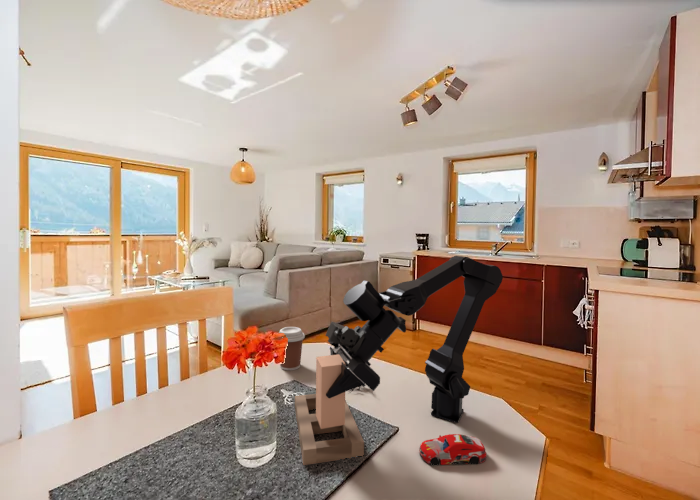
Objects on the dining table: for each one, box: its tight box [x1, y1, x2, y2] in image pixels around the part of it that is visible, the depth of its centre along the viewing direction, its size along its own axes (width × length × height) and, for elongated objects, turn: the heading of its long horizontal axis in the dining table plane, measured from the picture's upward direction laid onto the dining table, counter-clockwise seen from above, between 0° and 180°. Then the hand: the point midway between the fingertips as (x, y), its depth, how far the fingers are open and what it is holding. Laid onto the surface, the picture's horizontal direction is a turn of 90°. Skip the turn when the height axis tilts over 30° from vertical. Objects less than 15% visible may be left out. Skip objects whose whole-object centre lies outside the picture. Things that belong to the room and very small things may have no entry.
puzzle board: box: [294, 393, 365, 466], centre depth 76 cm, size 21×12×3 cm, turn 14°
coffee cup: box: [278, 326, 306, 371], centre depth 109 cm, size 9×9×12 cm
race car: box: [418, 433, 487, 467], centre depth 67 cm, size 13×5×4 cm, turn 93°
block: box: [315, 354, 346, 429], centre depth 70 cm, size 5×5×13 cm
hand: (324, 390), depth 70 cm, fingers closed on block, 5 cm apart
